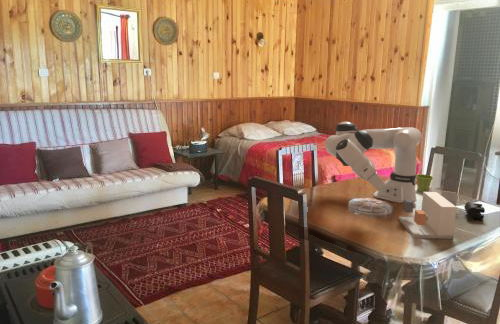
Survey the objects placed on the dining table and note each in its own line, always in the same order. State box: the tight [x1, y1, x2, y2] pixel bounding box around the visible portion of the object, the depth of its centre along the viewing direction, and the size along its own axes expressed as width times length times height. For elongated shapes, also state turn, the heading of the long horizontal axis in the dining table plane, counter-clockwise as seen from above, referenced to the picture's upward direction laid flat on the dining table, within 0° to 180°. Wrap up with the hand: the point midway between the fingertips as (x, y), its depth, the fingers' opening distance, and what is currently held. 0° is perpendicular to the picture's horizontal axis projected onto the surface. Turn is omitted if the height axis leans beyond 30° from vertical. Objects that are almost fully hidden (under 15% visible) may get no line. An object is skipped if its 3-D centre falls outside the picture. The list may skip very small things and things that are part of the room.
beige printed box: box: [440, 190, 458, 207], centre depth 208 cm, size 4×7×10 cm, turn 56°
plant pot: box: [416, 174, 434, 193], centre depth 244 cm, size 9×9×9 cm
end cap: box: [464, 200, 486, 222], centre depth 199 cm, size 10×7×7 cm
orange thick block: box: [413, 209, 428, 225], centre depth 175 cm, size 4×5×5 cm
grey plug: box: [402, 199, 417, 214], centre depth 191 cm, size 4×5×5 cm
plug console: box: [398, 191, 458, 240], centre depth 183 cm, size 16×22×14 cm
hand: (384, 190), depth 189 cm, fingers closed
